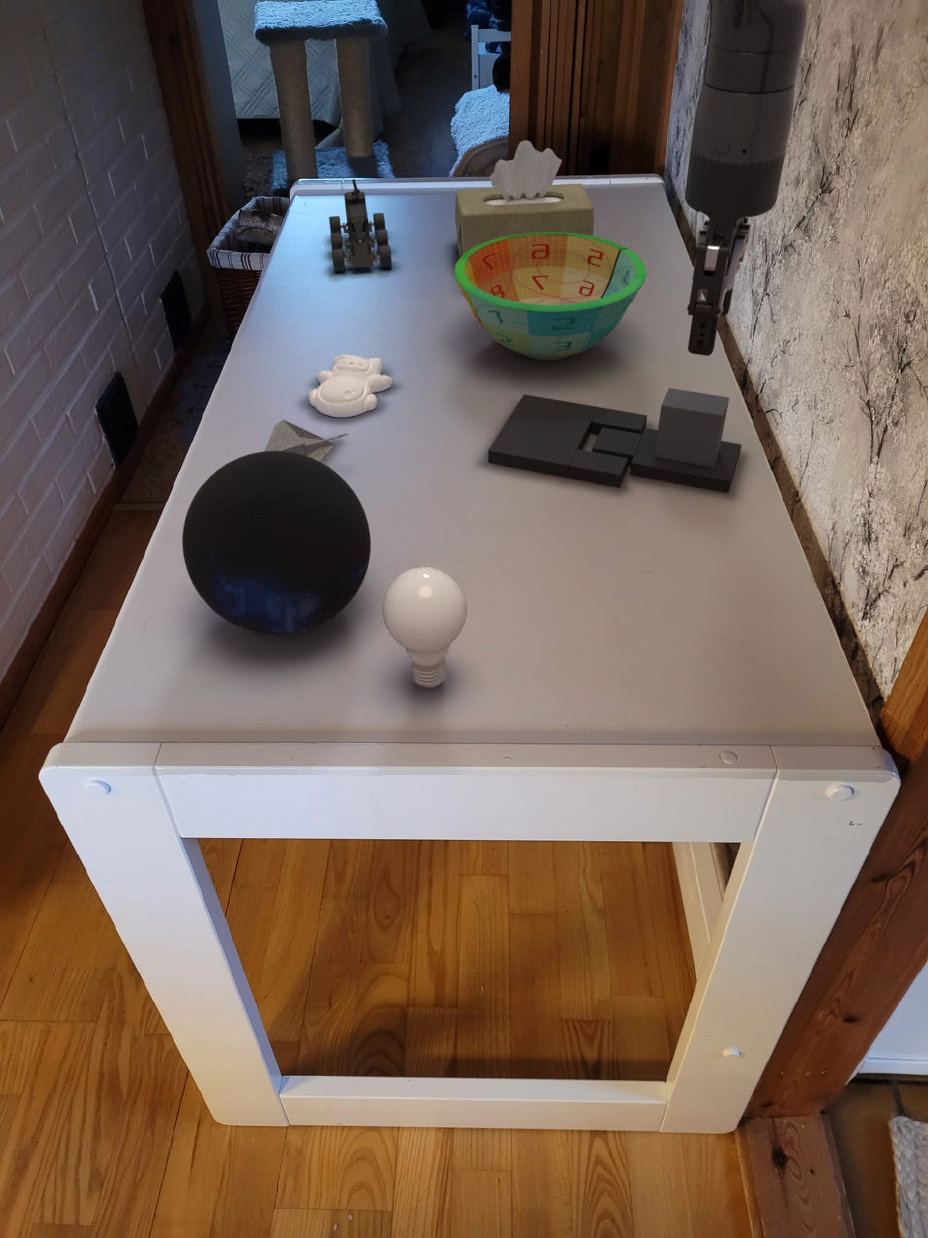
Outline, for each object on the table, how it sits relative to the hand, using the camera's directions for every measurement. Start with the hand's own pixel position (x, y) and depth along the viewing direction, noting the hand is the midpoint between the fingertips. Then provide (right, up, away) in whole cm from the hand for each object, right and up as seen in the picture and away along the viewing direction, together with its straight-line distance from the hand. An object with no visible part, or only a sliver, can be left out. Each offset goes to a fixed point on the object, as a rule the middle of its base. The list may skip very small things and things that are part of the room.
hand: (708, 332), depth 88 cm
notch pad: (-11, -8, +14) cm, 19 cm away
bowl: (-12, +7, +30) cm, 33 cm away
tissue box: (-14, +26, +50) cm, 58 cm away
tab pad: (-2, -10, +11) cm, 15 cm away
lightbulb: (-25, -32, -11) cm, 42 cm away
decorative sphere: (-38, -26, -5) cm, 46 cm away
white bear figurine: (-36, 0, +23) cm, 42 cm away
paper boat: (-39, -12, +11) cm, 42 cm away
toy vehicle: (-38, +27, +52) cm, 70 cm away
